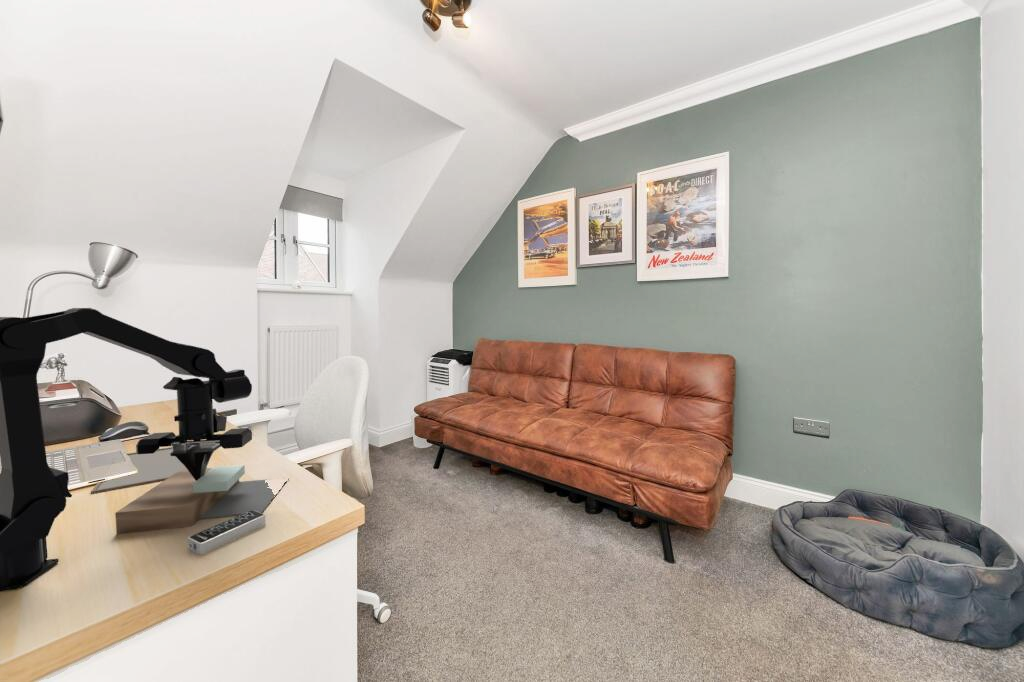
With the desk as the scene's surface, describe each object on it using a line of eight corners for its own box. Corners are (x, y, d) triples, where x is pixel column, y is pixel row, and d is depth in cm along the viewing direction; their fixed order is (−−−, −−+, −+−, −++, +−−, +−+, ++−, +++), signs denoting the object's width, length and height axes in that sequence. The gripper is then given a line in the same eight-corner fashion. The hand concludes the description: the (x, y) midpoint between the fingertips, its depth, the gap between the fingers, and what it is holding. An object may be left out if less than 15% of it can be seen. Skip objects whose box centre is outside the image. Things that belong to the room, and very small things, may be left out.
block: (227, 490, 81) (227, 481, 81) (193, 493, 79) (192, 483, 79) (244, 473, 90) (244, 465, 89) (214, 475, 88) (213, 466, 88)
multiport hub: (266, 525, 76) (266, 514, 75) (201, 557, 66) (200, 544, 66) (252, 520, 78) (252, 509, 77) (187, 550, 68) (186, 537, 68)
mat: (262, 513, 80) (262, 511, 80) (199, 519, 77) (199, 517, 77) (289, 478, 96) (289, 477, 96) (238, 483, 94) (238, 481, 94)
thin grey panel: (119, 458, 110) (91, 496, 88) (119, 454, 110) (90, 491, 88) (205, 445, 122) (200, 475, 99) (205, 442, 121) (200, 471, 99)
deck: (192, 525, 75) (191, 505, 74) (116, 533, 72) (115, 512, 72) (239, 482, 94) (238, 465, 94) (180, 487, 91) (180, 470, 91)
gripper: (260, 397, 92) (262, 462, 93) (166, 401, 88) (170, 469, 89) (239, 408, 81) (242, 481, 83) (131, 413, 77) (136, 490, 78)
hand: (199, 479), depth 83 cm, fingers closed
